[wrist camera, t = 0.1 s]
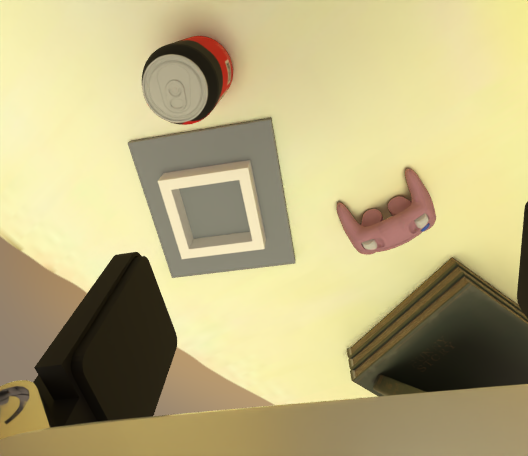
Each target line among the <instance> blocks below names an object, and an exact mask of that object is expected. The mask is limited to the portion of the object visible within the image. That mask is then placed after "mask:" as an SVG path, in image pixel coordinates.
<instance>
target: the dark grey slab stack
mask: <svg viewBox="0 0 528 456" xmlns="http://www.w3.org/2000/svg"><path fill="white" fill-rule="evenodd" d="M347 354H348V357H349V367H350V369H351V371H350V373H351V379H352V381H353V382H355V383H357V384H358V385H360V386H362V387H364V388H365V389H367V390H369V391H370V392H372V393H374V394H375V395H377V396H391V395H402V394H414V393H426V392H437V391H449V390H460V389H472V388H484V387H496V386H508V385H521V384H528V318H527V317H526V316H525V314H524V313H523V312H522V310H521V309H520V306H518V305H517V304H516V303H514V302H513V301H512V300H510V299H509V298H507V297H506V296H505V295H503V294H502V293H500V292H499V291H498V290H496V289H495V288H494V287H492V286H491V285H489V284H488V283H487V282H485V281H484V280H483V279H481V278H480V277H478V276H477V275H476V274H474V273H473V272H472V271H470V270H469V269H467V268H466V267H465V266H463V265H462V264H461V263H459V262H458V261H456V260H455V259H454V258H451V259H450V260H449V261H448V262H447V263H445V264H444V265H443V266H442V267H441V268H440V269H439V270H438V271H436V272H435V273H434V274H433V275H432V276H431V277H430V278H429V279H428V280H426V281H425V282H424V283H423V284H422V285H421V286H420V287H419V288H417V289H416V290H415V291H414V292H413V293H412V294H411V295H410V296H409V297H407V298H406V299H405V300H404V301H403V302H402V303H401V304H400V305H398V306H397V307H396V308H395V309H394V310H393V311H392V312H391V313H389V314H388V315H387V316H386V317H385V318H384V319H383V320H382V321H381V322H379V323H378V324H377V325H376V326H375V327H374V328H373V329H372V330H370V331H369V332H368V333H367V334H366V335H365V336H364V337H363V338H361V339H360V340H359V341H358V342H357V343H356V344H355V345H354V346H353V347H351V348H348V349H347Z"/></svg>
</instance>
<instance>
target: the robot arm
mask: <svg viewBox="0 0 528 456" xmlns="http://www.w3.org/2000/svg"><path fill="white" fill-rule="evenodd" d="M517 299H518V304H519V306H520V309H521V310H522V312H523V313H524V314H525V316H526V317H527V318H528V202H527V203H526V205H525V211H524V222H523V234H522V245H521V256H520V268H519V279H518V291H517ZM176 347H177V336H176V332H175V330H174V327H173V324H172V322H171V319H170V316H169V314H168V311H167V308H166V306H165V303H164V300H163V298H162V295H161V292H160V290H159V287H158V284H157V281H156V279H155V276H154V273H153V271H152V268H151V265H150V263H149V260H148V259H147V257H145V256H141V255H140V254H139V253H138V252H133V253H126V254H119V255H115V256H114V257H113V258H112V260H111V261H110V262H109V264H108V265H107V267H106V268H105V269H104V271H103V272H102V274H101V275H100V276H99V278H98V279H97V281H96V282H95V283H94V285H93V286H92V288H91V289H90V290H89V292H88V293H87V295H86V296H85V298H84V299H83V301H82V302H81V303H80V304H79V306H78V307H77V309H76V310H75V311H74V313H73V314H72V316H71V317H70V319H69V320H68V321H67V323H66V324H65V325H64V327H63V328H62V330H61V331H60V332H59V334H58V335H57V337H56V338H55V340H54V341H53V342H52V344H51V345H50V346H49V348H48V349H47V351H46V352H45V354H44V355H43V356H42V358H41V359H40V361H39V362H38V363H37V365H36V366H35V369H36V371H37V373H38V374H39V375H38V376H37V378H36V379H35V381H34V382H30V381H27V380H22V381H14V382H11V383H7V384H5V385H2V386H0V456H528V384H521V385H508V386H496V387H484V388H472V389H460V390H449V391H437V392H426V393H414V394H402V395H391V396H379V397H368V398H356V399H345V400H333V401H321V402H310V403H298V404H286V405H274V406H263V407H252V408H240V409H228V410H217V411H206V412H195V413H184V414H173V415H162V416H153V415H154V412H155V409H156V406H157V404H158V400H159V397H160V395H161V392H162V389H163V386H164V383H165V380H166V377H167V374H168V371H169V368H170V365H171V362H172V359H173V357H174V354H175V351H176Z"/></svg>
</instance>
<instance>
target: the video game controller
mask: <svg viewBox="0 0 528 456" xmlns="http://www.w3.org/2000/svg"><path fill="white" fill-rule="evenodd" d="M405 176H406V181H407V184H408V188H409V191H410V194H411V198H412V201H410V200H407V199H406V198H404V197H401V196H398V197H395V198H393V199H391V200H390V201H389V203H388V209H389V211H390V213H391V215H392V217H389V218H387V219H385V220H384V219H383V217H382V214H381V212H380V211H379V210H377V209H370V210H368V211H366V212H365V213H364V214H363V217H362V223H361V224H359V223H358V222H357V221H356V220H355V219H354V218H353V216H352V215H351V213H350V211H349V210H348V209H347V208H346V206H345V205H344V204H343V203H338V204H337V213H338V216H339V219H340V221H341V224H342V226H343V229H344V231H345V233H346V234H347V236H348V238H349V239H350V241H351V243H352V244H353V246H354V247H355V248H356V249H357V251H358V252H360V253H362V254H373V253H375V252H381V251H385V250H389V249H392V248H395V247H398V246H400V245H402V244H404V243H407V242H409V241H410V240H412V239H413V238H415V237H416V236H418V235H419V234H420V233H422V232H423V231H426V230H428V229H430V228H431V227H432V226H433V225H434V223H435V220H436V215H435V210H434V206H433V203H432V200H431V197H430V195H429V193H428V191H427V189H426V188H425V186H424V185H423V183H422V182H421V180H420V178H419V177H418V175H417V174H416V173H415V172H414V171H413V170H412V169H409V168H408V169H406V171H405Z"/></svg>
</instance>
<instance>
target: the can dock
mask: <svg viewBox="0 0 528 456" xmlns="http://www.w3.org/2000/svg"><path fill="white" fill-rule="evenodd" d="M128 146H129V149H130V152H131V155H132V158H133V161H134V164H135V167H136V170H137V173H138V176H139V179H140V182H141V185H142V188H143V191H144V194H145V197H146V200H147V203H148V206H149V209H150V212H151V215H152V218H153V221H154V224H155V227H156V230H157V234H158V237H159V240H160V243H161V246H162V249H163V252H164V255H165V258H166V261H167V264H168V267H169V270H170V273H171V276H172V278H175V277H184V276H192V275H201V274H209V273H218V272H226V271H235V270H243V269H252V268H260V267H269V266H277V265H286V264H294V263H295V256H294V250H293V244H292V238H291V232H290V226H289V220H288V214H287V208H286V202H285V197H284V191H283V185H282V179H281V173H280V167H279V161H278V155H277V149H276V143H275V137H274V131H273V126H272V120H271V118H267V119H261V120H255V121H249V122H243V123H236V124H230V125H224V126H218V127H212V128H206V129H200V130H194V131H188V132H182V133H176V134H170V135H164V136H158V137H152V138H146V139H140V140H133V141H130V142H128Z"/></svg>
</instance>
